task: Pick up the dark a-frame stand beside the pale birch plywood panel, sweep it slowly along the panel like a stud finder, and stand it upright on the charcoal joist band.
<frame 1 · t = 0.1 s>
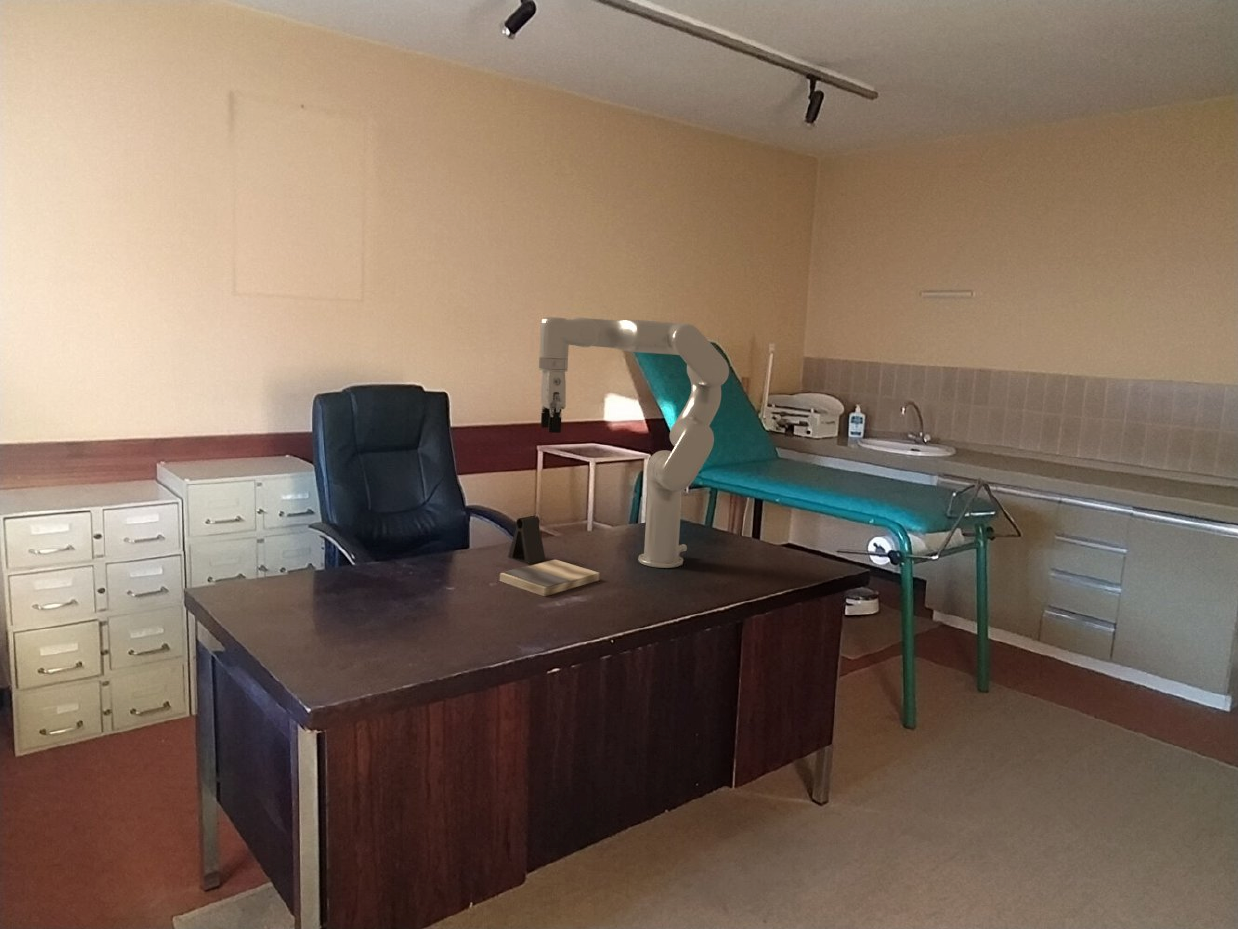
hand: (550, 429, 237), 37 cm above the table, tool pointing down, fingers open, 9 cm apart
dark a-frame stand: (526, 560, 248), on the table
subfloor panel: (549, 580, 230), on the table
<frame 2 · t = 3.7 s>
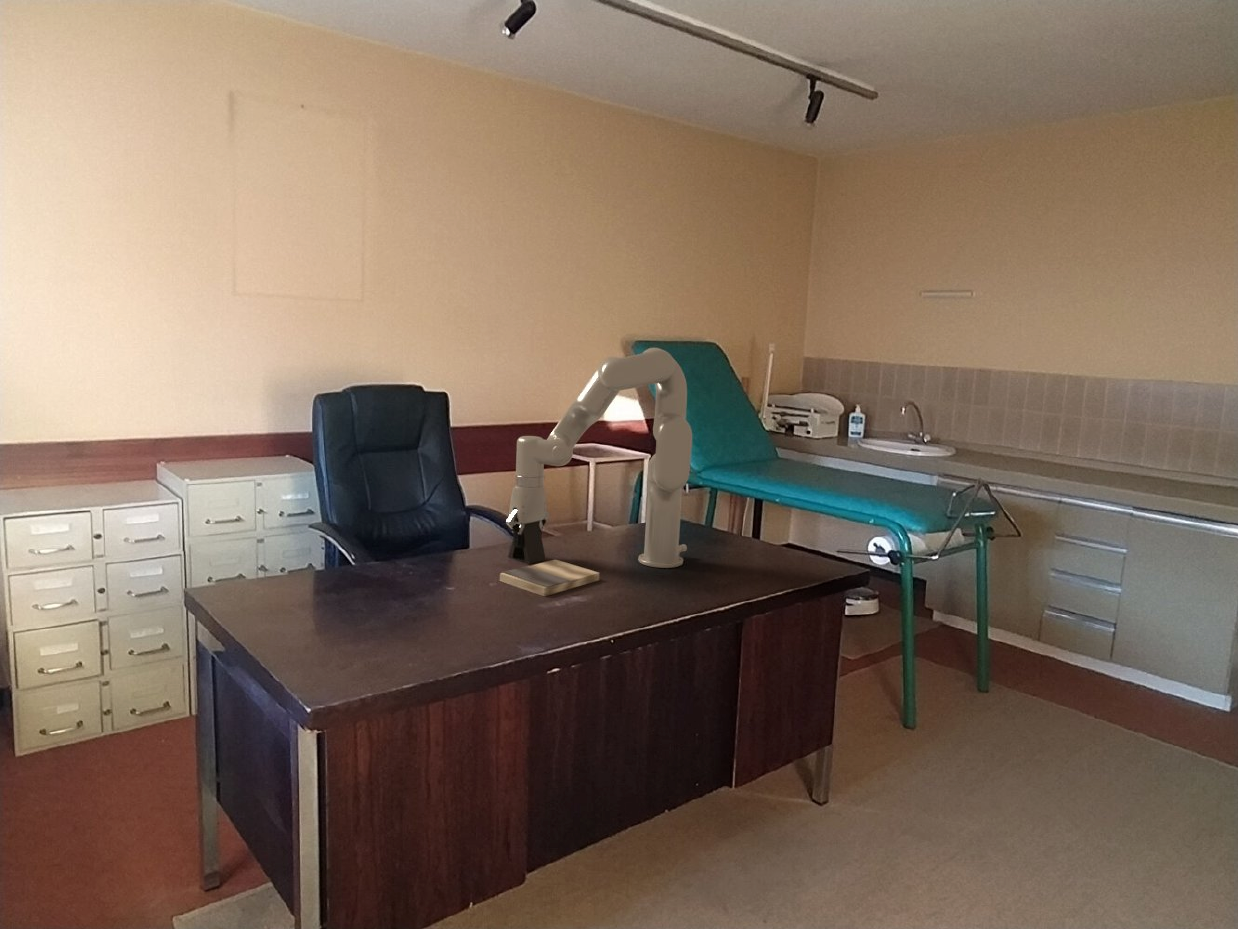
hand: (527, 544, 247), 4 cm above the table, tool pointing down, fingers closed on dark a-frame stand, 6 cm apart
dark a-frame stand: (526, 560, 248), on the table, touching gripper
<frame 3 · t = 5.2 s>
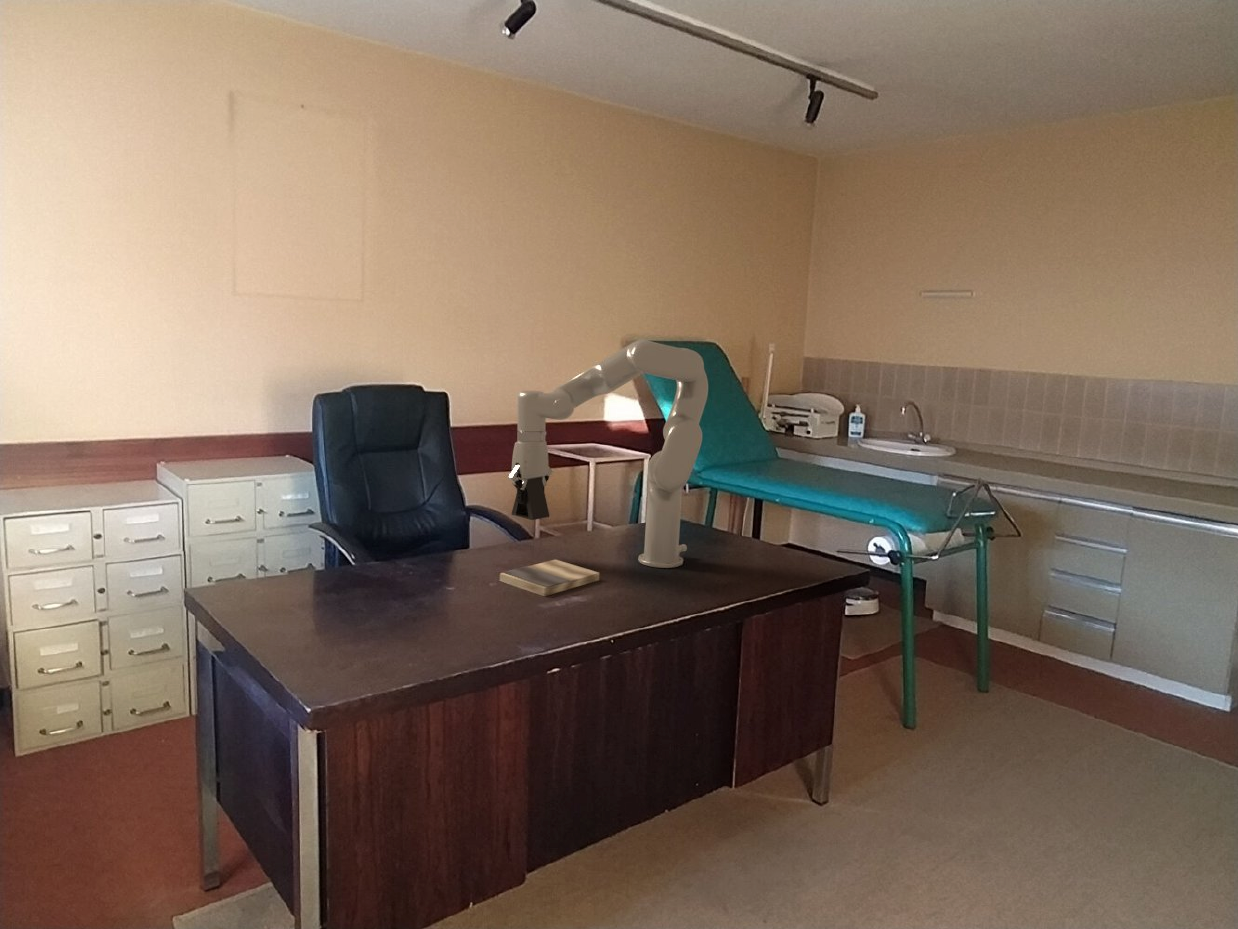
hand: (530, 501, 245), 16 cm above the table, tool pointing down, fingers closed on dark a-frame stand, 6 cm apart
dark a-frame stand: (530, 516, 246), point 12 cm above the table, touching gripper
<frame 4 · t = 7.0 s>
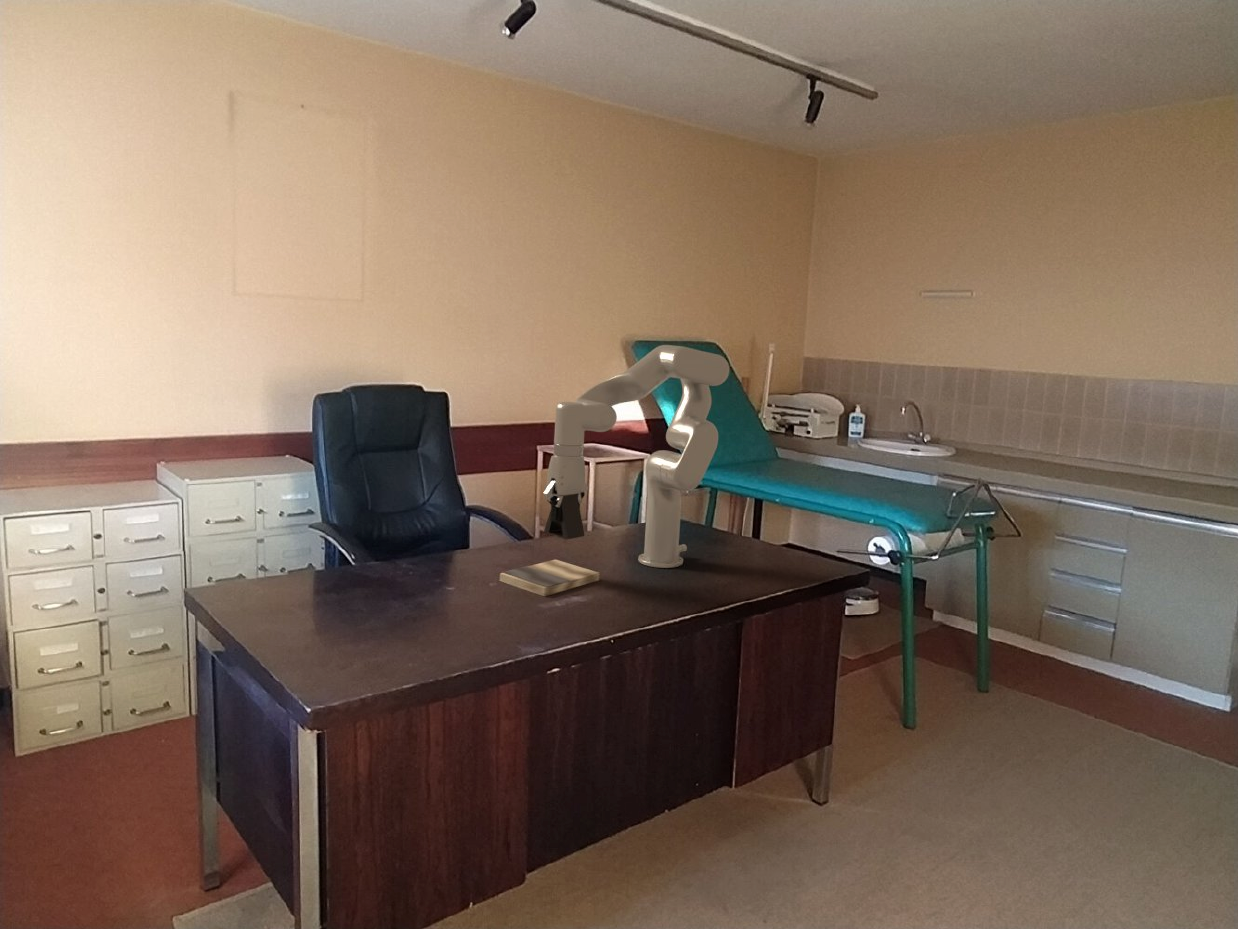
hand: (565, 519, 231), 16 cm above the table, tool pointing down, fingers closed on dark a-frame stand, 6 cm apart
dark a-frame stand: (564, 535, 231), point 11 cm above the table, touching gripper
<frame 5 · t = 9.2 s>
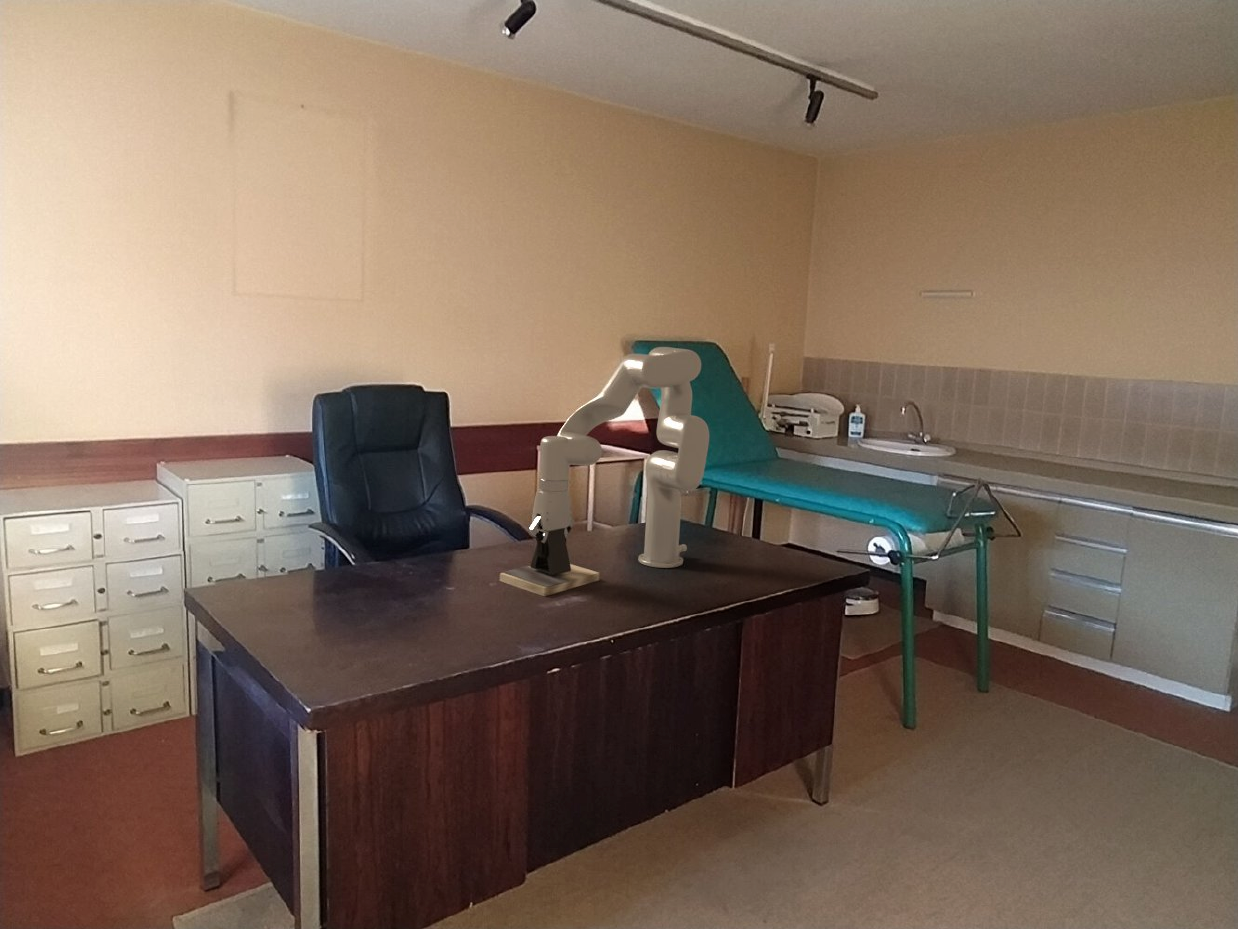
hand: (551, 553, 228), 7 cm above the table, tool pointing down, fingers closed on dark a-frame stand, 6 cm apart
dark a-frame stand: (550, 570, 229), point 3 cm above the table, touching gripper
when the fingers open (7 cm above the table, at t = 10.8 s): dark a-frame stand stays where it is, resting on subfloor panel.
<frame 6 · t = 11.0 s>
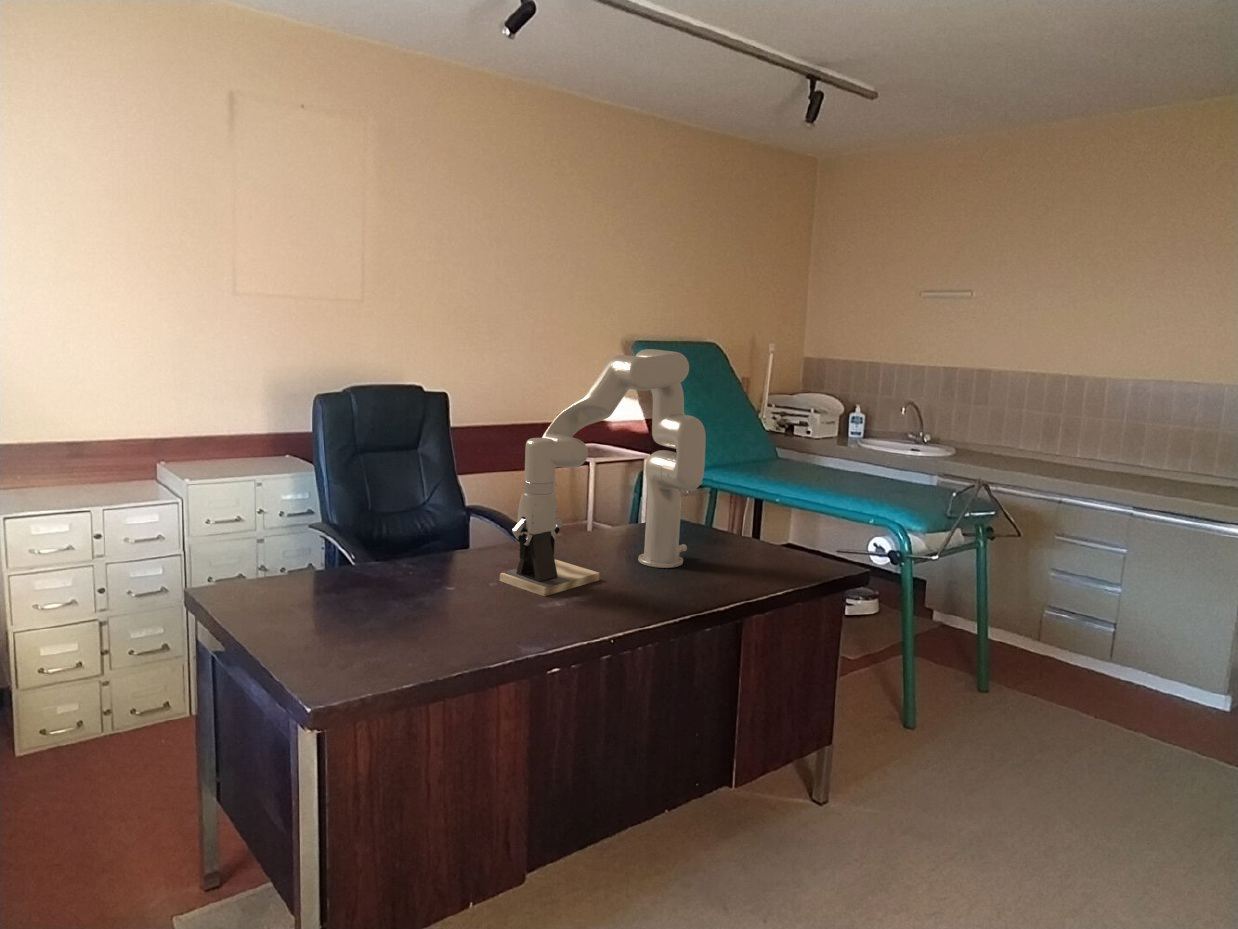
hand: (537, 556, 225), 7 cm above the table, tool pointing down, fingers open, 7 cm apart
dark a-frame stand: (536, 576, 226), point 2 cm above the table, touching subfloor panel
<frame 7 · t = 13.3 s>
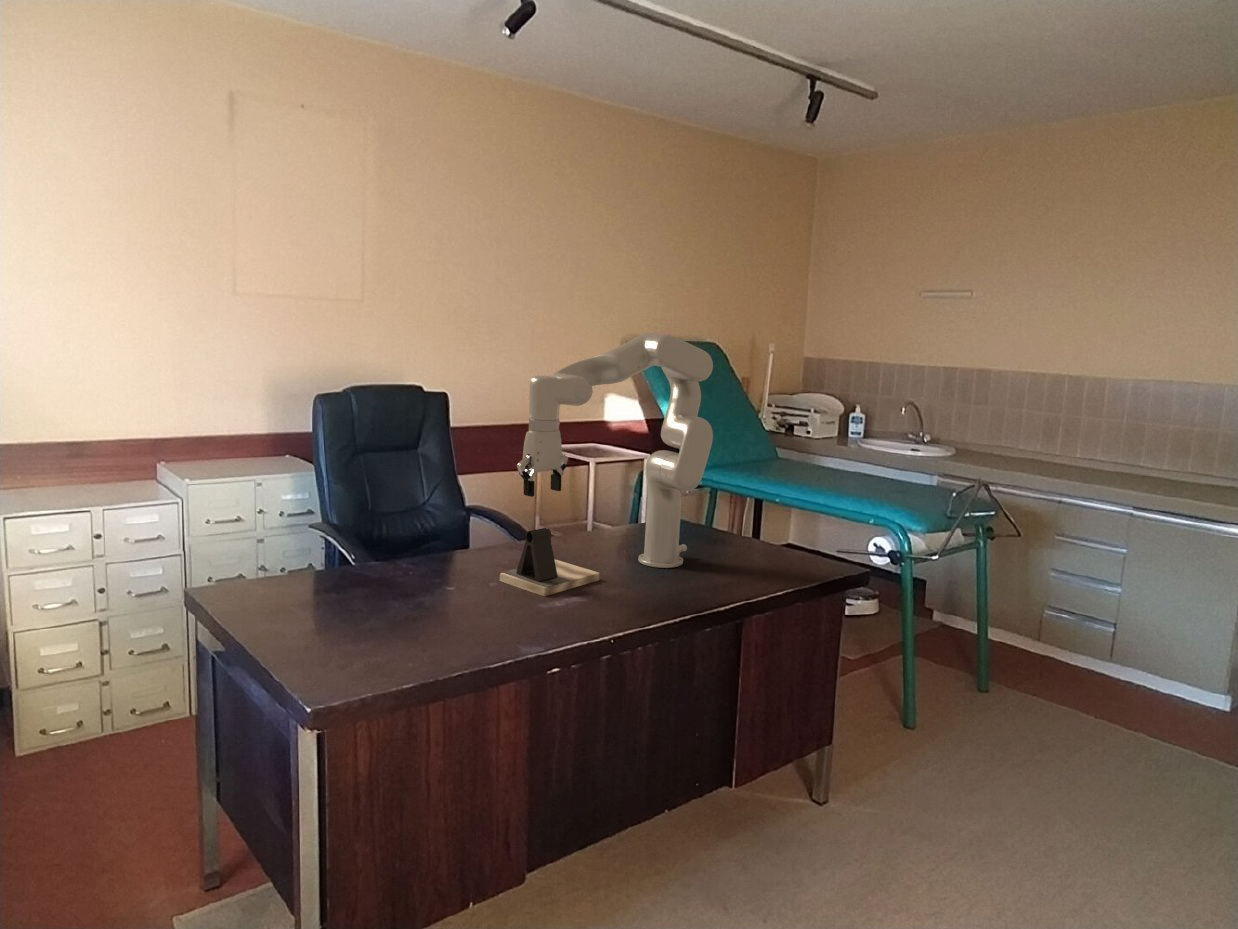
hand: (542, 493, 226), 23 cm above the table, tool pointing down, fingers open, 9 cm apart
nothing on the table moved.
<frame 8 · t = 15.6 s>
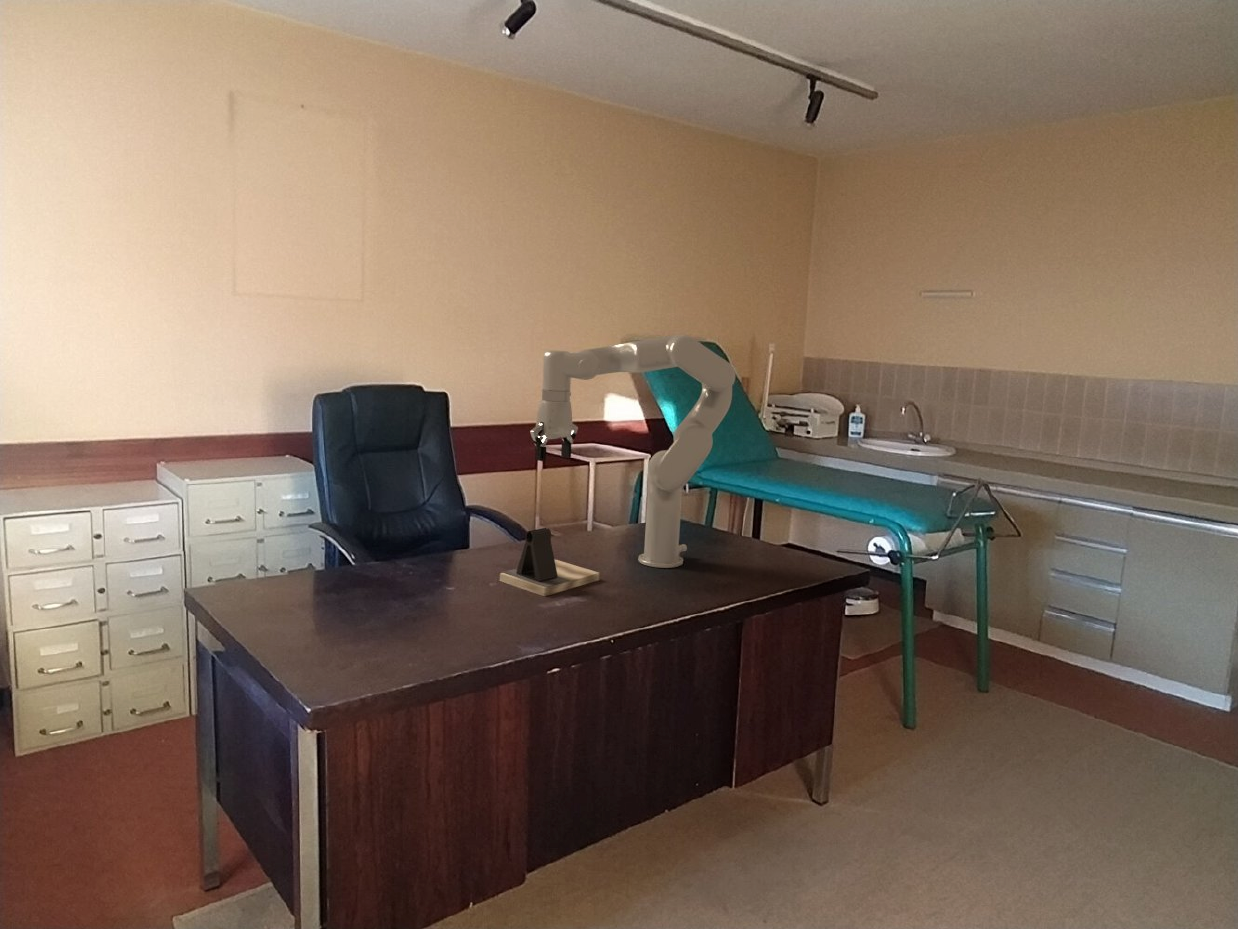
hand: (553, 459, 244), 28 cm above the table, tool pointing down, fingers open, 9 cm apart
nothing on the table moved.
at the end: dark a-frame stand 0.2 cm from the target spot, point 2.0 cm above the table; dark a-frame stand tilted 0°; the gripper is holding nothing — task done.
